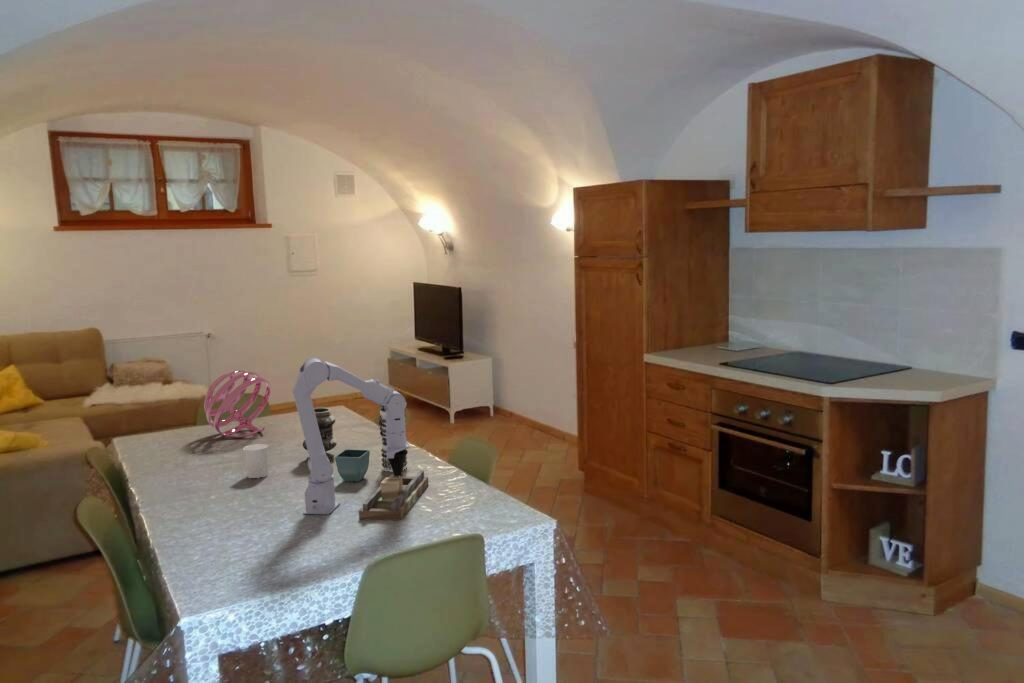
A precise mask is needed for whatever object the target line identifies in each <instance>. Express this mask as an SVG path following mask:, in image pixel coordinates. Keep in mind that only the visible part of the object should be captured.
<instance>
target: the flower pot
mask: <svg viewBox="0 0 1024 683" xmlns="http://www.w3.org/2000/svg"><path fill="white" fill-rule="evenodd" d="M370 452H371V451H370V450H369V449H347V448H346V449H344V450H342V451H341V452H339V453H338V454H337V455H334V457H335V458H334V459H335V460H334V461H335V464H336V465H335V466H336V467H337V468H336V469H337V472H338V474H339V476H340V478H341V479H342V480H343V482H353V481H355V482H354V483H358V482H360V481H361V480H362V479H364V478H365V477H366V474H367V472H368V470H369V464H370V455H371V454H370Z"/></svg>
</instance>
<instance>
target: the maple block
mask: <svg viewBox="0 0 1024 683" xmlns="http://www.w3.org/2000/svg"><path fill="white" fill-rule="evenodd" d="M380 486H381V495H382V499H396V498H397V497H398V496H399V495H400V494H401V492H402V491H403V483H402V478H393V477H389V476H388V477H385V478H383V479H382V481H381V482H380Z"/></svg>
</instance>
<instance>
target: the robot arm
mask: <svg viewBox="0 0 1024 683" xmlns="http://www.w3.org/2000/svg"><path fill="white" fill-rule="evenodd" d="M326 380H327V381H328V382H331V381H332V382H333V381H340V382H342V383H344V384H345V385H348V386H350V387H352V388H354V389H357V390H358V391H360V393H361V395H362V397H363V398H365V399H367V400H369V401H371V402H373V403H375V404H377V405H379V406H380V405H381V406H385V407H386V434H387V446H386V448H387V452H386V457H387V458H388V460H389V462H390V464H391V467H392V470H393V472H392V473H394V476H401V477H402V475H403V471H404V470H403V465H404V461H405V457H407V454H408V451H409V449H410V448H411V445H410V444H407V443H408V442H407V437H406V436H407V434H406V433H407V431H406V427H405V425H406V422H405V421H406V417H405V415H406V414H405V413H404V412H405V409H406V407H407V404H408V403H407V401H406V398H405V397H404V396H403V394H401V393H400V392H398V391H397V390H396V389H395V388H393V387H392V386H391V387H388V386H386V385H384V384H382V383H381V381H380V380H379V379H377V378H376V379H372V378H371V379H368V380H364V379H362V378H361V377H358V376H357V375H355V374H354V373H352V372H349V371H348V370H346V369H344V368H343V367H340V366H339V365H337V364H334V363H331V362H330V361H326V360H324V361H323V360H322V359H320V358H318V357H310V358H308V359H306V360H305V361H304V362H303V364H302V365H301V366H300V367H299V370H298V374H297V376H296V380H295V383H294V385H293V387H292V395H293V399H294V402H295V405H296V410H297V412H298V413H297V414H298V417H299V422H300V425H301V429H302V433H303V438H304V440H305V442H306V445H307V450H308V451H307V450H306V451H307V455H308V457H309V459H308V461H307V468H308V470H309V472H310V473H309V476H308V478H307V479H308V480H307V481H308V482H307V483H308V484H307V487H306V488H305V491H304V503H305V504H304V506H305V510H304V511H302V514H304V515H330V514H331V513H332V512H333V511H334V510H335V509H336V508H337V507H338V506H339V505H341V501H336V494H335V493H336V492H335V478H334V475H333V473H334V466H333V465H332V463H331V462H330V460H329V459H328V457H327V456H326V453H327V452H326V453H325V450H324V446H323V442H322V439H321V435H320V431H319V427H318V423H317V419H316V415H315V411H314V408H315V407H314V403H313V400H312V394H313V392H314V391H315V390H316V388H317V387H318V386H320V385H321V384H323V383H324V382H325V381H326ZM387 408H388V409H387ZM404 414H405V415H404ZM404 449H406V450H404ZM407 449H408V450H407ZM329 513H330V514H329Z"/></svg>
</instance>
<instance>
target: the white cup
mask: <svg viewBox="0 0 1024 683" xmlns="http://www.w3.org/2000/svg"><path fill="white" fill-rule="evenodd" d="M242 448H243V449H242V451H243V457H244V465H245V470H246V476H247V478H248V479H251V478H257V479H261V478H260V477H262V478H265V477H267V476H268V475H269V445H268V444H264V443H263V444H262V443H257V444H249V445H247V446H244V447H242Z"/></svg>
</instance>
